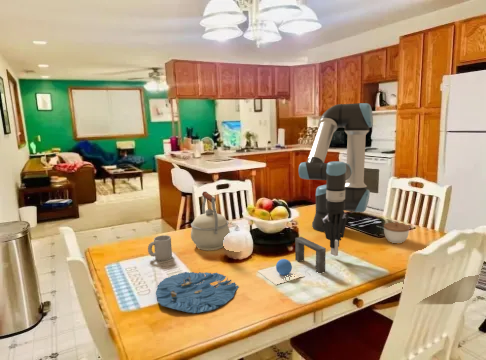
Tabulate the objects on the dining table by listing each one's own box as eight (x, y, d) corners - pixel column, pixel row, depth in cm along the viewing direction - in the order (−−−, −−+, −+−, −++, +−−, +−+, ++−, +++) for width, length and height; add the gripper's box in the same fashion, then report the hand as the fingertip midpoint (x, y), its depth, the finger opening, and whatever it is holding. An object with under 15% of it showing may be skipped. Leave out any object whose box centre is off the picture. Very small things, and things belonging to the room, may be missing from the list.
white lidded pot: (412, 245, 155) (413, 225, 153) (388, 246, 155) (389, 226, 153) (402, 237, 165) (403, 218, 164) (379, 237, 166) (380, 219, 164)
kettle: (237, 249, 156) (235, 196, 151) (197, 256, 149) (194, 201, 145) (220, 233, 178) (218, 186, 174) (185, 238, 172) (182, 190, 167)
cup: (173, 259, 147) (172, 239, 146) (149, 263, 144) (148, 243, 142) (170, 253, 154) (169, 234, 152) (147, 257, 150) (146, 237, 149)
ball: (284, 254, 133) (285, 269, 134) (272, 259, 130) (273, 273, 131) (294, 260, 128) (295, 274, 129) (282, 264, 125) (283, 279, 126)
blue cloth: (196, 269, 141) (196, 257, 140) (254, 290, 122) (253, 276, 121) (133, 296, 118) (132, 282, 117) (192, 326, 99) (191, 310, 98)
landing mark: (257, 271, 133) (257, 270, 133) (284, 264, 139) (284, 263, 139) (275, 285, 122) (275, 284, 122) (304, 276, 128) (304, 276, 128)
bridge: (319, 273, 130) (319, 249, 128) (295, 260, 143) (295, 238, 141) (325, 272, 131) (325, 248, 129) (301, 258, 144) (301, 236, 142)
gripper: (329, 204, 132) (328, 261, 136) (354, 199, 138) (352, 254, 142) (316, 200, 138) (316, 254, 143) (340, 196, 144) (339, 248, 149)
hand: (334, 254), depth 142 cm, fingers closed
